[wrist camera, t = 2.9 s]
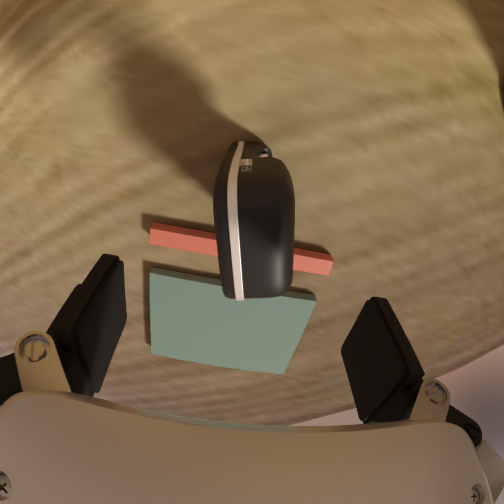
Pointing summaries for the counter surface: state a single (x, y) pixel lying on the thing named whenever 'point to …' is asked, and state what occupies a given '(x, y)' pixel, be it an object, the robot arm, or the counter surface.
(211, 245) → the bar
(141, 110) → the counter surface
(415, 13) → the counter surface
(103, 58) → the counter surface
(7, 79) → the counter surface
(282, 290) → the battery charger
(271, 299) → the mat
